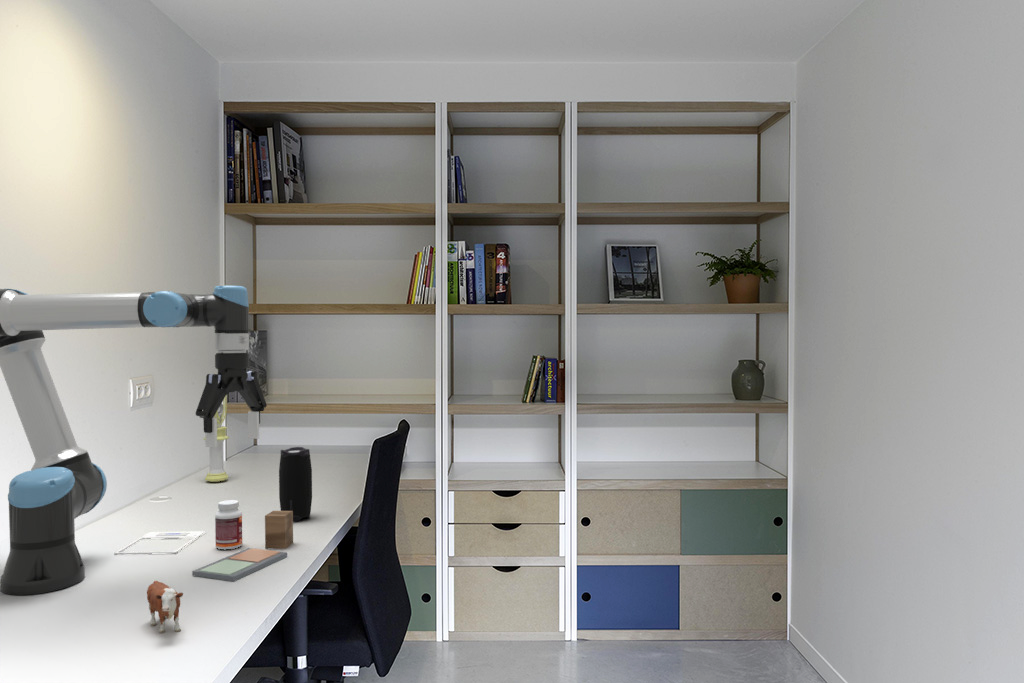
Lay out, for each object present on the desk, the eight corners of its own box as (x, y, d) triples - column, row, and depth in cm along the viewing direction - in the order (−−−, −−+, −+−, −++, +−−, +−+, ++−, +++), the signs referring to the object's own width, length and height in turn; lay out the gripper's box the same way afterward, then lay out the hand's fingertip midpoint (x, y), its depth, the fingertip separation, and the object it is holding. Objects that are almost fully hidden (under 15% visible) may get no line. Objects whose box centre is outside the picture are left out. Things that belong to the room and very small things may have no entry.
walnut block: (285, 548, 183) (284, 516, 182) (265, 548, 183) (264, 515, 183) (293, 542, 188) (292, 510, 187) (273, 542, 188) (273, 510, 188)
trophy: (220, 484, 258) (219, 396, 258) (200, 483, 260) (198, 396, 259) (233, 479, 267) (231, 394, 266) (213, 478, 268) (212, 394, 267)
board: (233, 581, 159) (233, 575, 159) (192, 575, 163) (192, 570, 163) (287, 556, 176) (286, 551, 176) (248, 552, 180) (248, 547, 180)
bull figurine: (160, 643, 128) (159, 596, 128) (144, 619, 139) (144, 575, 139) (187, 637, 131) (186, 590, 131) (170, 613, 142) (169, 570, 141)
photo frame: (205, 530, 197) (176, 551, 179) (205, 534, 197) (176, 555, 179) (149, 531, 197) (114, 552, 179) (149, 535, 197) (114, 556, 179)
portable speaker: (292, 513, 217) (292, 445, 216) (319, 516, 213) (318, 447, 213) (272, 520, 209) (271, 450, 209) (299, 524, 205) (298, 452, 205)
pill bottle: (245, 547, 184) (244, 502, 183) (218, 552, 180) (218, 506, 180) (239, 541, 189) (238, 498, 189) (213, 546, 185) (212, 501, 185)
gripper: (203, 354, 163) (204, 451, 164) (280, 350, 186) (281, 435, 187) (177, 353, 166) (178, 449, 167) (256, 350, 189) (257, 434, 190)
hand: (233, 442), depth 177 cm, fingers open, 13 cm apart
